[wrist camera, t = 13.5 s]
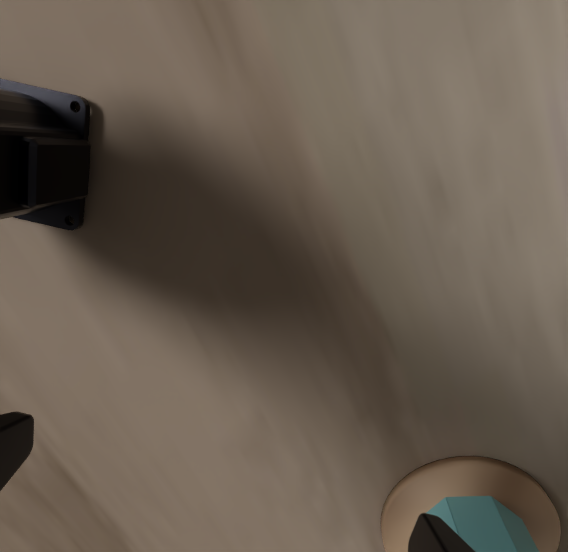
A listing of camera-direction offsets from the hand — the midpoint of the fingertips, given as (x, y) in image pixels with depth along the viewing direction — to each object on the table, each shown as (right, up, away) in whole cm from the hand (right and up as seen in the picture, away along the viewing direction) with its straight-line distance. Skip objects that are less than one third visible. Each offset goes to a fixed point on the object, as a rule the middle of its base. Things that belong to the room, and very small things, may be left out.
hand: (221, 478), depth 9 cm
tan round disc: (+12, -10, +16) cm, 23 cm away
